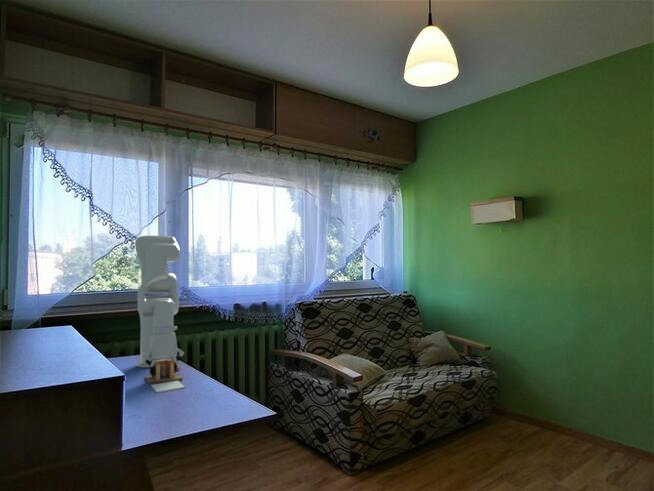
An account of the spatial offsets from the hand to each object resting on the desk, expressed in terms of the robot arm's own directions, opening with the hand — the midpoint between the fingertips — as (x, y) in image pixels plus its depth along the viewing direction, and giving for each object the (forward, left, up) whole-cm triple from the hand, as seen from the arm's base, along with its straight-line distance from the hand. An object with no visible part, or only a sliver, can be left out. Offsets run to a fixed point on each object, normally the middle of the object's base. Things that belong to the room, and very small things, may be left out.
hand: (163, 374), depth 168 cm
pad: (+12, -1, -2) cm, 12 cm away
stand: (0, 0, -2) cm, 2 cm away
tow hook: (-12, +4, -2) cm, 13 cm away
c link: (0, 0, -1) cm, 1 cm away
